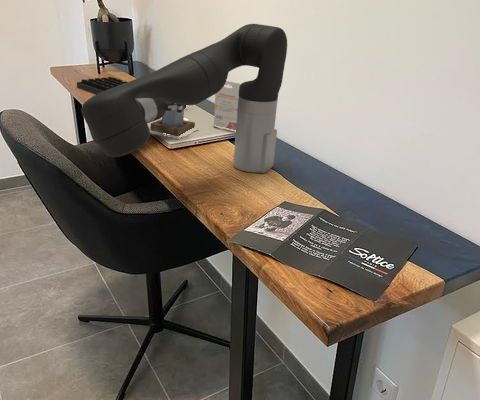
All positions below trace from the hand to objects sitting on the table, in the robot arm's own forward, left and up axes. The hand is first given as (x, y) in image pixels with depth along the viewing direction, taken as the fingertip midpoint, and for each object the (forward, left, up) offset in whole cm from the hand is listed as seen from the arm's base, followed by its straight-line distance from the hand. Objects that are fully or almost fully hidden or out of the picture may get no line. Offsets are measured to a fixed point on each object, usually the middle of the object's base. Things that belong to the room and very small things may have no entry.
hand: (178, 97), depth 142 cm
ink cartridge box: (-12, -10, -9) cm, 19 cm away
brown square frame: (0, +3, -9) cm, 9 cm away
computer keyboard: (+33, -22, -10) cm, 41 cm away
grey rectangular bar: (0, +3, -8) cm, 8 cm away
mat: (0, +3, -9) cm, 10 cm away
